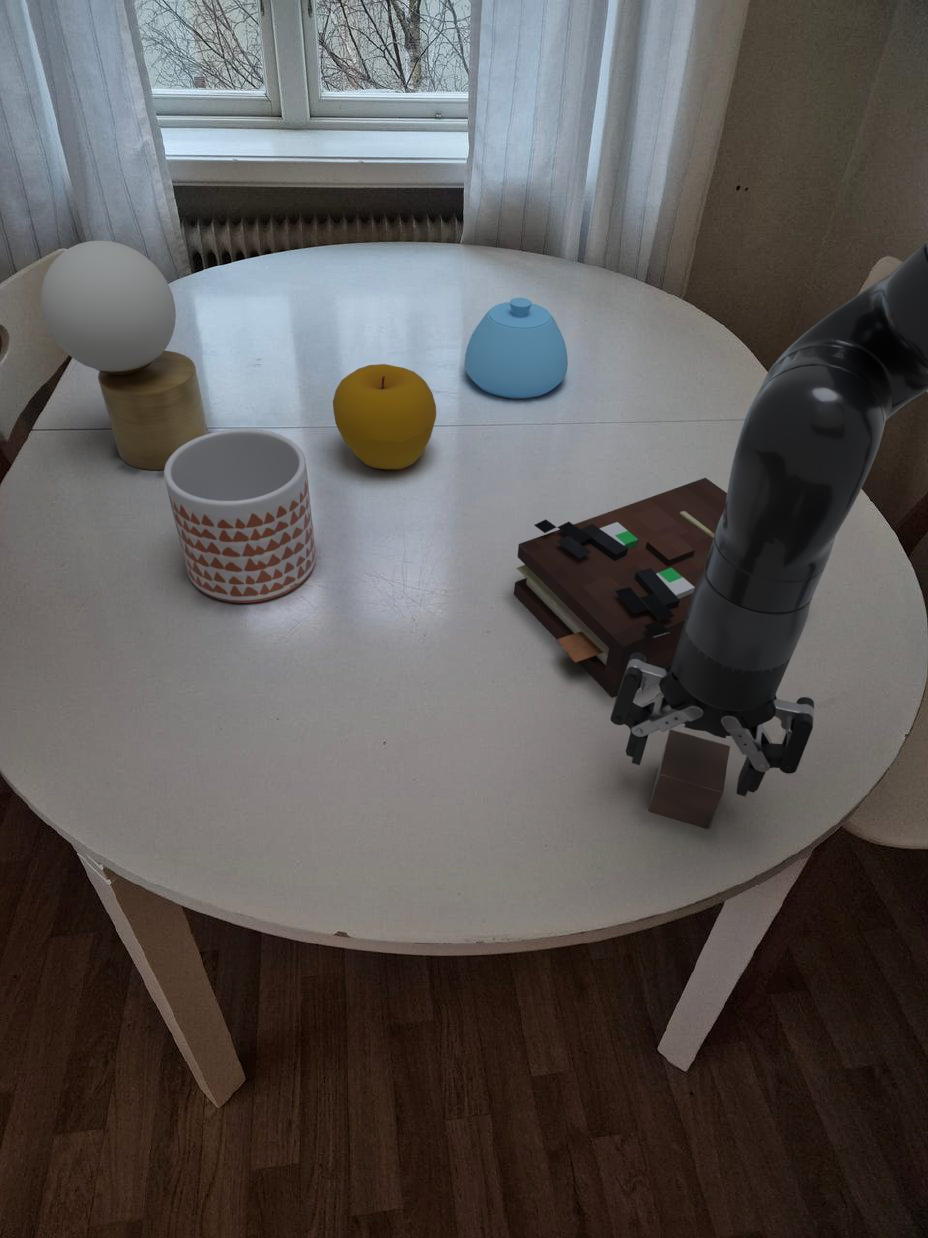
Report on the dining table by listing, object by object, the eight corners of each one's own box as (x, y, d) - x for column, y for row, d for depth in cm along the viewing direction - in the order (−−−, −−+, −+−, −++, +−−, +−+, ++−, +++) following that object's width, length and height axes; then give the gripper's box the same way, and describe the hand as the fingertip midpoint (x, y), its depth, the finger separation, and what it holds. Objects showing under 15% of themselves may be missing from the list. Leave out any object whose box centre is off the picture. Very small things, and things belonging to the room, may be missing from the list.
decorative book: (849, 553, 86) (612, 658, 74) (825, 609, 91) (600, 715, 79) (715, 460, 98) (492, 537, 86) (700, 514, 103) (488, 594, 91)
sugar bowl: (565, 407, 121) (574, 327, 113) (458, 398, 122) (461, 319, 114) (566, 358, 132) (575, 283, 124) (469, 351, 133) (472, 276, 125)
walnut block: (716, 782, 74) (730, 746, 71) (708, 829, 71) (722, 793, 67) (658, 765, 75) (669, 729, 72) (648, 811, 72) (659, 774, 68)
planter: (208, 620, 87) (185, 518, 78) (173, 545, 95) (148, 445, 87) (335, 581, 92) (326, 481, 83) (290, 513, 100) (278, 416, 92)
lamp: (69, 473, 105) (0, 266, 88) (108, 415, 115) (54, 219, 98) (193, 479, 105) (149, 272, 88) (221, 420, 115) (186, 225, 98)
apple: (366, 497, 103) (361, 412, 96) (317, 447, 111) (309, 365, 103) (455, 467, 109) (458, 384, 101) (403, 421, 116) (402, 341, 109)
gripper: (628, 637, 58) (593, 781, 69) (847, 694, 55) (774, 836, 66) (648, 571, 63) (613, 715, 74) (848, 620, 60) (781, 762, 71)
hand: (689, 772), depth 70 cm, fingers open, 8 cm apart
